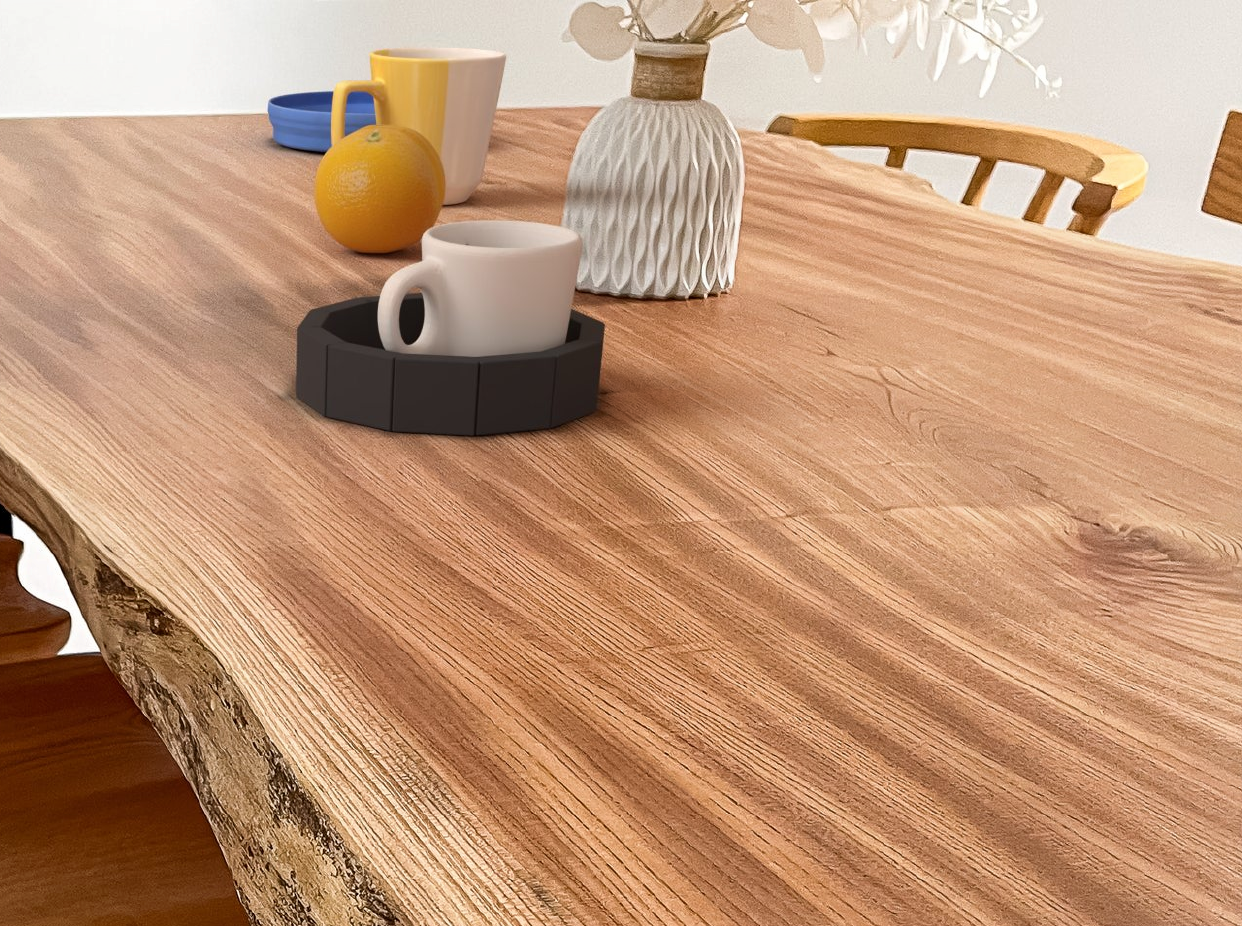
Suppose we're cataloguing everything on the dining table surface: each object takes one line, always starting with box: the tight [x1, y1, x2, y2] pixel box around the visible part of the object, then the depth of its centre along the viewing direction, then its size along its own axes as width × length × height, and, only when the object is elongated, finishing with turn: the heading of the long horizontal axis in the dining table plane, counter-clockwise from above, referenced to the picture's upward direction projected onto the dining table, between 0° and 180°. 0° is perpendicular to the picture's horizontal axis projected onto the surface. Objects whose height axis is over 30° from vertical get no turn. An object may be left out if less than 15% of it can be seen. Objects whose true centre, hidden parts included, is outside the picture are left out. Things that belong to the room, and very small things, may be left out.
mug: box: [331, 46, 507, 206], centre depth 149 cm, size 14×10×10 cm
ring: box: [295, 292, 606, 437], centre depth 100 cm, size 15×15×4 cm
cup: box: [378, 219, 584, 357], centre depth 98 cm, size 11×8×8 cm
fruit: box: [314, 124, 446, 254], centre depth 132 cm, size 9×8×8 cm
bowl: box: [267, 90, 377, 153], centre depth 177 cm, size 18×18×4 cm
